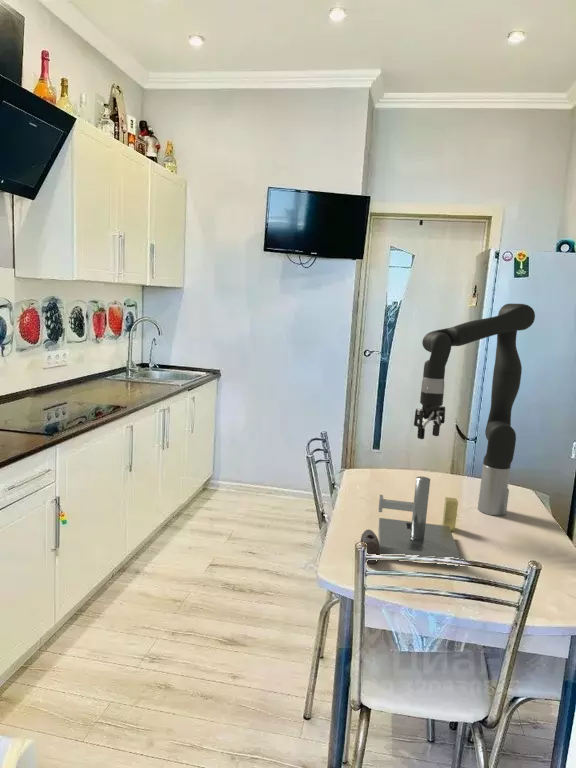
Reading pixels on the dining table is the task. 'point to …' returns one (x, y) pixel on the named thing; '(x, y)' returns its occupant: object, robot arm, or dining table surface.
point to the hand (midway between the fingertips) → (428, 437)
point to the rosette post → (415, 529)
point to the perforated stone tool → (371, 544)
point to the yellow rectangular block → (450, 513)
